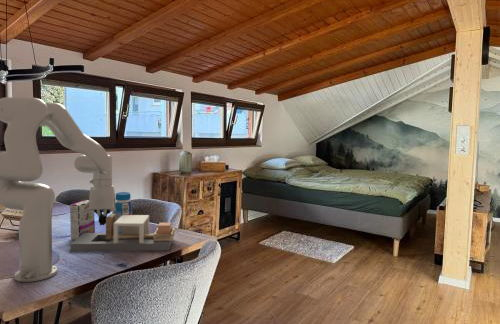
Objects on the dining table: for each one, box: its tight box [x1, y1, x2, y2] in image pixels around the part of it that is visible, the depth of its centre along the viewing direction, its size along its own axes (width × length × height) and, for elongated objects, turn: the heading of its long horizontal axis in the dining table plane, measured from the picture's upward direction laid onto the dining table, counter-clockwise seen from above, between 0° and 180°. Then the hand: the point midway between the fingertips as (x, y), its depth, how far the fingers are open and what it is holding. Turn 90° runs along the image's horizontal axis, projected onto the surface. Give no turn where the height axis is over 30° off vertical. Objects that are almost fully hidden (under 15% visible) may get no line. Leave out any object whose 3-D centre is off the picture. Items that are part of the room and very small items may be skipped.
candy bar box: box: [69, 199, 96, 241], centre depth 162 cm, size 11×5×16 cm, turn 168°
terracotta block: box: [157, 222, 172, 234], centre depth 155 cm, size 5×5×5 cm
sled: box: [105, 213, 176, 242], centre depth 153 cm, size 10×28×10 cm, turn 97°
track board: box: [69, 214, 174, 252], centre depth 153 cm, size 16×40×12 cm, turn 97°
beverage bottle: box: [113, 191, 133, 233], centre depth 169 cm, size 8×8×20 cm
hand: (102, 224), depth 151 cm, fingers closed
